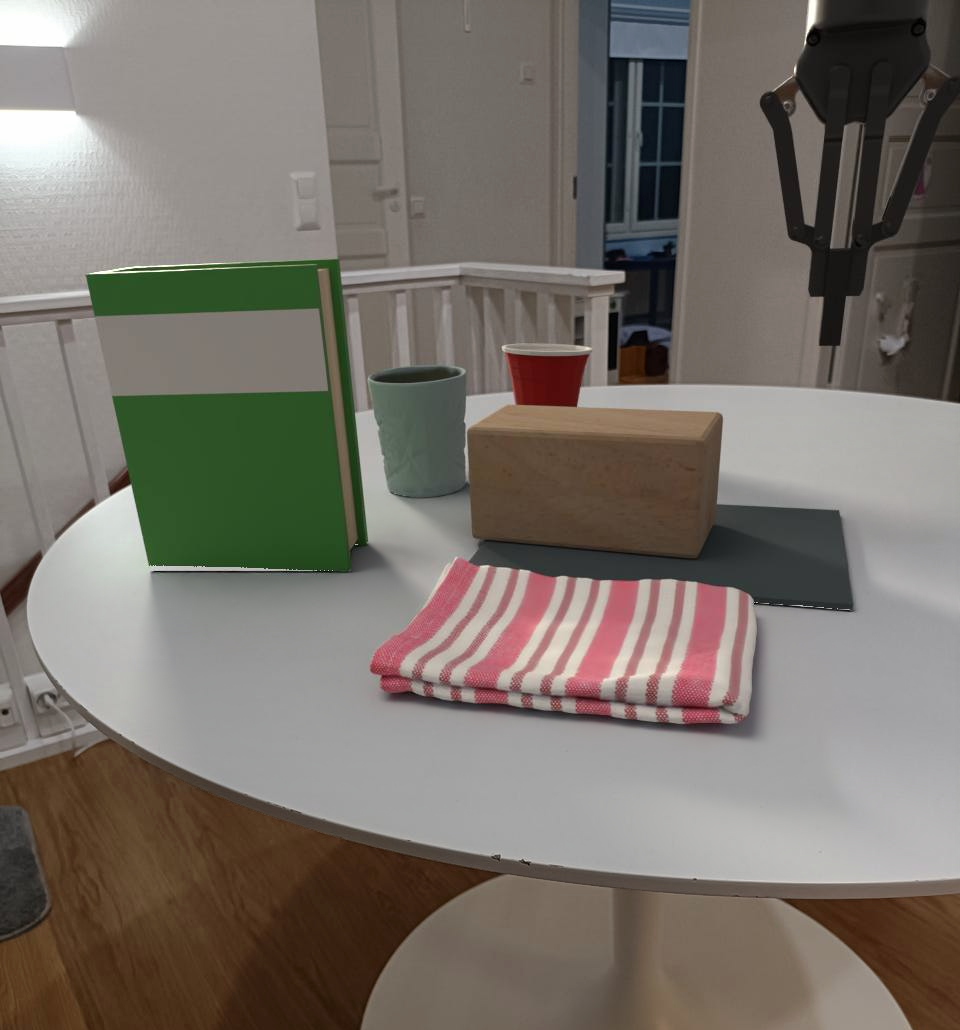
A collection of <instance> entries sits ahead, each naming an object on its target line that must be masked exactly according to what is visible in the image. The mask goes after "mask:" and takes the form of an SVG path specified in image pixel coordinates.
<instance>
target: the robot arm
mask: <svg viewBox="0 0 960 1030" xmlns="http://www.w3.org/2000/svg"><path fill="white" fill-rule="evenodd" d="M931 3H932V0H807V7H806V18H805V28H804V29H805V30H804V39H803V47H802V50H801V52H800V55H799V56H798V58H797V60H796V62H795V64H794V67H793V74H792V75H791V76H790V77H788V78H787V79H786V80H785V81H784V82H782V83H780V85H778V86H777V87H776V88H774V89H773V90H772V91H771V90H770V91H766V92H764V93H763V94H762V95H761V97H760V99H759V107H760V109H761V111H762V113H763V115H764V116H765V119H766V120H767V122H768V124H769V125H770V127H771V129H772V132H773V134H772V135H773V140H774V149H775V155H776V161H777V168H778V175H779V182H780V190H781V196H782V203H783V210H784V218H785V225H786V232H787V236H788V238H789V239H790V241H793V242H796V243H799V244H803V245H805V246H807V247H808V248H809V249H810V254H811V255H810V264H809V273H808V274H809V275H808V282H807V283H808V286H807V291H808V294H809V298H822V302H821V303H822V305H821V313H820V322H819V331H818V346H819V347H841V342H842V336H843V326H844V319H845V309H846V301H847V297H861V295H862V293H863V291H864V289H865V282H866V273H867V268H868V267H867V265H868V258H869V252H870V250H871V248H872V247H873V246H874V245H875V244H876V243H879V242H881V241H884V240H887V239H891V238H893V237H895V236H896V235H898V233H899V231H900V229H901V226H902V223H903V221H904V218H905V215H906V213H907V211H908V208H909V205H910V203H911V200H912V197H913V195H914V192H915V189H916V186H917V184H918V181H919V178H920V176H921V173H922V170H923V167H924V165H925V162H926V159H927V157H928V154H929V153H930V149H931V146H932V144H933V141H934V139H935V135H936V133H937V131H938V128H939V125H940V122H941V120H942V118H943V117H944V115H945V114H946V112H947V111H948V110H949V109H950V108H951V106H952V105H953V103H954V102H955V100H956V99H957V98H958V97H959V95H960V76H957V75H954V76H953V75H952V76H950V75H949V74H948V73H947V72H945V71H943V70H942V69H941V68H939V67H937V66H936V65H935V64H934V63H932V59H933V52H932V48H931V46H930V43H929V40H928V24H929V23H928V22H929V16H930V9H931ZM919 82H920V83H921V91H920V92H919V95H918V100H917V101H918V104H919V105H920V106H921V107H922V108H923V109H922V110H921V112H920V114H919V116H918V118H917V120H916V122H915V125H914V127H913V130H912V132H911V133H912V134H911V136H910V139H909V142H908V144H907V147H906V149H905V152H904V155H903V158H902V160H901V163H900V166H899V169H898V172H897V174H896V177H895V179H894V182H893V186H892V188H891V191H890V193H889V196H888V199H887V201H886V204H885V207H884V210H883V213H882V215H881V218H880V220H879V221H876V222H874V214H875V206H876V199H877V198H876V197H877V191H878V190H877V189H878V182H879V175H880V167H881V158H882V152H883V151H882V149H883V142H884V136H885V132H886V131H885V130H886V122H887V120H888V119H889V118H891V117H892V115H894V113H895V112H896V111H897V110H898V108H899V107H900V106H901V105H902V103H903V102H904V101H905V99H906V98H907V97H908V96H909V94H910V93H911V92H912V91H913V89H914V88H915V87H916V85H917V84H918V83H919ZM799 92H801V95H802V96H803V97H804V99H805V101H806V102H807V104H808V106H809V108H810V109H811V111H812V113H813V114H814V116H815V117H816V119H817V121H819V123H820V124H822V125H823V126H824V128H823V138H822V149H821V158H820V166H819V177H818V187H817V196H816V203H815V204H816V205H815V214H814V224H813V225H810V224H808V223H805V215H804V207H803V202H802V201H803V200H802V194H801V193H802V192H801V186H800V180H799V172H798V165H797V157H796V149H795V142H794V135H793V129H792V124H791V122H790V118H791V117H792V116H793V115H795V112H796V111H797V102H796V96H797V94H798V93H799ZM851 124H858V125H861V126H862V132H861V143H860V154H859V162H858V171H857V179H856V187H855V198H854V205H853V214H852V222H851V232H850V243H849V244H850V245H849V247H837V248H836V247H835V248H831V243H832V237H833V227H834V221H835V219H834V218H835V209H836V200H837V193H838V184H839V176H840V165H841V158H842V157H841V155H842V147H843V140H844V133H845V126H848V125H851Z"/></svg>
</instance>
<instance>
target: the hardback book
mask: <svg viewBox="0 0 960 1030" xmlns="http://www.w3.org/2000/svg"><path fill="white" fill-rule="evenodd" d="M341 272H342V271H341V264H340V258H339V257H337V258H316V259H294V260H293V259H291V260H269V261H267V260H266V261H244V262H243V261H242V262H220V263H217V262H216V263H196V264H195V263H193V264H172V265H171V264H170V265H169V264H168V265H147V266H146V265H145V266H128V267H122V268H116V269H109V270H103V271H97V272H91V273H86V274H85V279H86V283H87V288H88V293H89V297H90V302H91V307H92V310H93V315H94V321H95V325H96V329H97V333H98V339H99V343H100V347H101V352H102V357H103V360H104V364H105V365H104V366H105V370H106V371H105V372H106V375H107V380H108V385H109V389H110V393H111V398H112V403H113V407H114V412H115V416H116V417H115V418H116V422H117V427H118V430H119V435H120V439H121V444H122V449H123V453H124V457H125V458H124V459H125V462H126V463H125V464H126V467H127V472H128V476H129V480H130V481H129V482H130V486H131V490H132V494H133V500H134V503H135V508H136V513H137V518H138V522H139V527H140V531H141V537H142V541H143V545H144V550H145V554H146V560H147V563H148V567H149V566H150V565H151V566H153V565H154V566H155V565H156V566H163V565H164V566H194V567H195V566H196V567H197V566H202V567H203V566H205V567H241V568H242V567H244V568H246V567H247V568H264V569H266V568H268V569H286V570H287V569H289V570H292V569H293V570H296V569H297V570H313V571H314V570H317V571H320V570H321V571H324V570H325V571H328V570H329V571H332V570H333V571H349V570H350V569H351V570H352V568H351V567H352V560H351V559H352V558H351V550H352V549H353V547H354V546H356V545H355V544H358V545H357V546H367V545H368V543H369V535H368V525H367V516H366V507H365V506H366V505H365V495H364V488H363V486H364V485H363V477H362V468H361V467H362V466H361V457H360V447H359V437H358V430H357V420H356V419H357V418H356V408H355V401H354V390H353V381H352V371H351V361H350V352H349V351H350V350H349V342H348V331H347V323H346V311H345V303H344V302H345V301H344V293H343V284H342V274H341ZM367 542H368V543H367ZM366 544H367V545H366ZM351 570H350V571H351ZM350 571H349V572H350Z"/></svg>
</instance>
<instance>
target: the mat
mask: <svg viewBox="0 0 960 1030" xmlns="http://www.w3.org/2000/svg"><path fill="white" fill-rule="evenodd" d="M844 539H845V538H844V532H843V527H842V519H841V513H840V510H839V509H825V508H824V509H823V508H805V507H804V508H802V507H786V506H785V507H783V506H764V505H763V506H762V505H761V506H760V505H743V504H742V505H741V504H722V503H717V508H716V519H715V522H714V524H713V526H712V528H711V530H710V532H709V534H708V536H707V538H706V541H705V543H704V545H703V547H702V549H701V551H700V553H699V555H698V557H697V558H693V559H692V558H681V557H670V556H659V555H648V554H637V553H626V552H615V551H604V550H593V549H582V548H571V547H560V546H549V545H538V544H527V543H516V542H505V541H494V540H485V541H484V542H483V544H482V545H480V547H479V548H478V549H477V550H476V552H475V553H474V554H473V555H472V557H470V559H468V560H467V561H468V562H469V563H470V564H473V565H475V566H478V567H479V566H486V565H489V566H492V567H501V568H510V569H515V570H528V571H531V572H533V573H536V574H540V575H543V576H548V577H559V576H568V577H572V578H589V579H593V580H613V581H639V580H643V579H653V580H662V579H673V580H679V581H689V582H698V583H702V584H707V585H712V586H718V587H732V588H735V589H738V590H741V591H743V592H745V593H747V594H749V595H750V596H751V597H752V599H753V600H754V602H755V603H756V602H758V603H769V604H783V605H803V606H813V607H824V608H832V609H837V608H838V609H850V610H852V611H853V607H854V602H853V594H852V587H851V581H850V574H849V567H848V559H847V554H846V547H845V546H846V545H845V540H844Z"/></svg>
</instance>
